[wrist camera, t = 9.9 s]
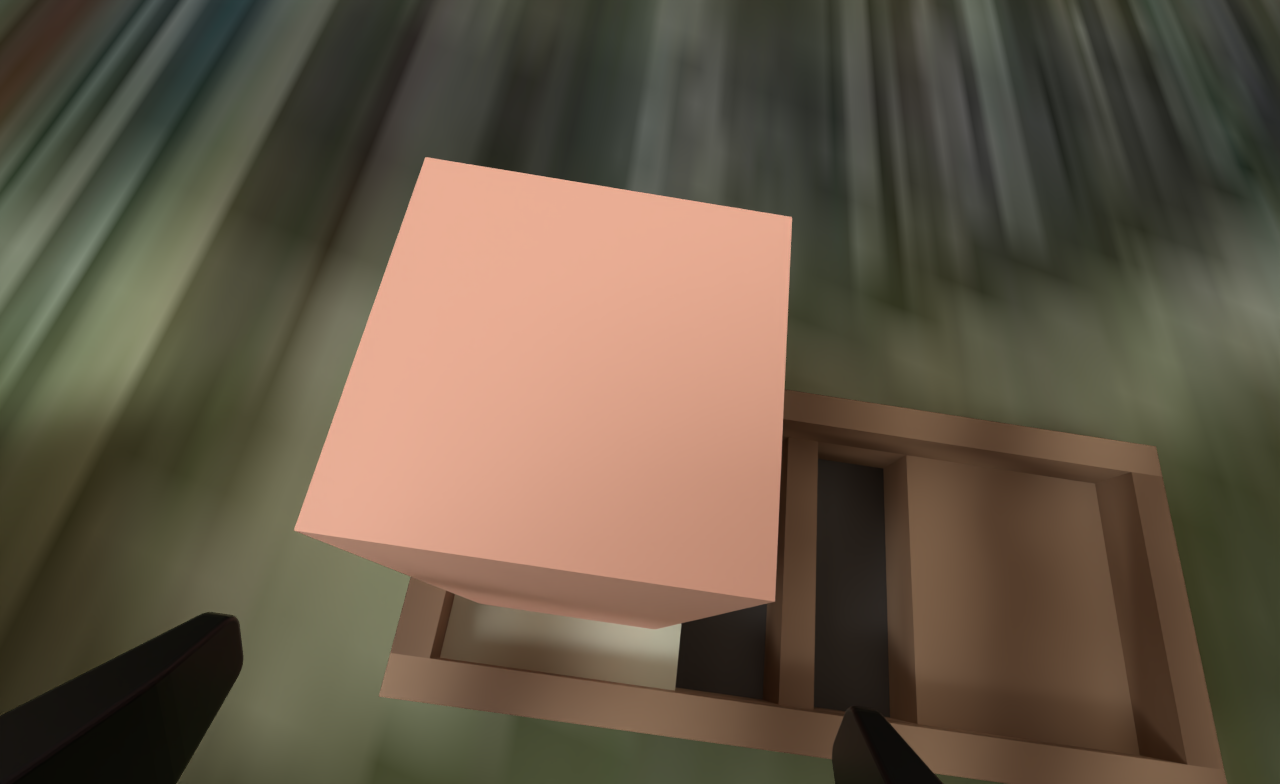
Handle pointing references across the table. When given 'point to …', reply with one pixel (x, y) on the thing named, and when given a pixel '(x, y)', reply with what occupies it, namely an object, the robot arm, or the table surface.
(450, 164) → the coral block
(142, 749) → the robot arm
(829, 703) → the box
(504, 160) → the table surface
